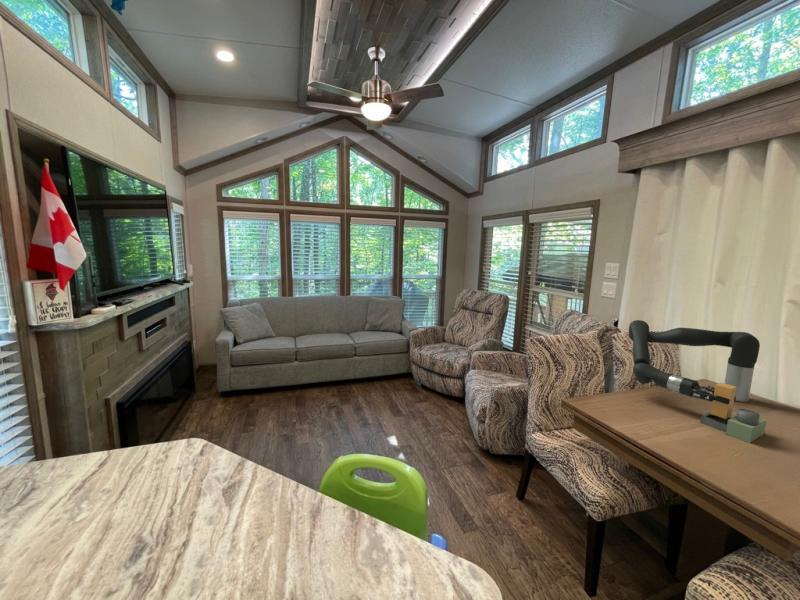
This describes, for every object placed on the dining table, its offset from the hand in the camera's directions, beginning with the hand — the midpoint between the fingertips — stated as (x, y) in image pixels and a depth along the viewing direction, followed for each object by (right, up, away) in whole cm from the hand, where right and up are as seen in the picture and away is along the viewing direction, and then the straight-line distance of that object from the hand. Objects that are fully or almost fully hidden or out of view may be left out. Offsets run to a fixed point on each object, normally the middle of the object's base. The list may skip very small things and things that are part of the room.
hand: (732, 400), depth 137 cm
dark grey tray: (-1, -12, +4) cm, 12 cm away
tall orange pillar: (-1, -7, +3) cm, 8 cm away
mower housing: (+3, -13, -3) cm, 13 cm away
